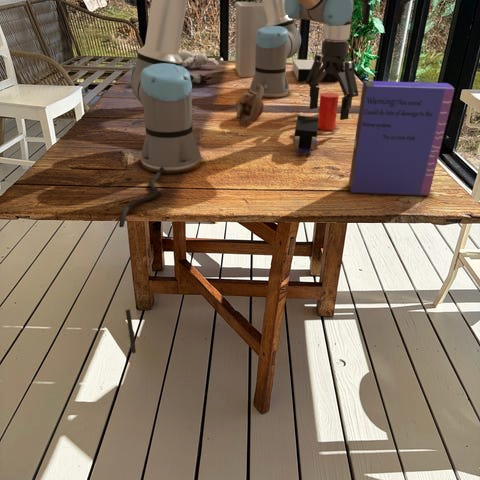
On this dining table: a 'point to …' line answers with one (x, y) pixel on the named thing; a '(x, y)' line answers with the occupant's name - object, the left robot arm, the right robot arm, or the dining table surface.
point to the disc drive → (303, 69)
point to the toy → (195, 59)
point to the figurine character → (305, 134)
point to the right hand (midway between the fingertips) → (381, 24)
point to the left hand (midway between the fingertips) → (328, 113)
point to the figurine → (200, 78)
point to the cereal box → (399, 137)
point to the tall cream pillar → (247, 35)
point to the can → (327, 111)
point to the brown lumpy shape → (250, 106)
